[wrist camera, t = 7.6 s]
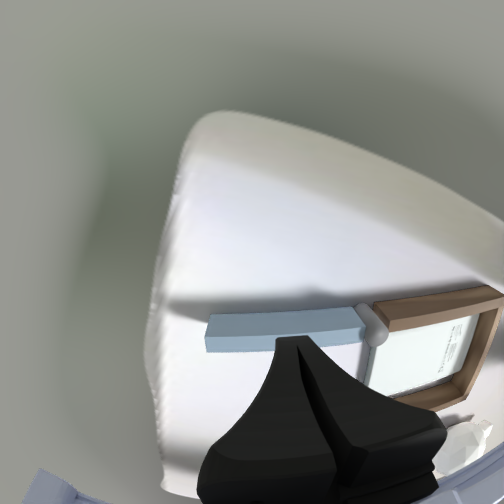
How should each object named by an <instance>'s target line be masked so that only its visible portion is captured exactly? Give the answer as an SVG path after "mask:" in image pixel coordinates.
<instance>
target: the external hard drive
mask: <svg viewBox="0 0 504 504" xmlns="http://www.w3.org/2000/svg"><path fill="white" fill-rule="evenodd" d="M479 314H480V313H478V314H474V315H471V316H467V317H463V318H459V319H455V320H450V321H446V322H442V323H437V324H433V325H428V326H423V327H418V328H413V329H407V330H402V331H396V332H390V333H389V336H388V338H387V340H386V341H385V342H384V343H383V344H382V345H380V346H378V347H371V350H370V355H369V361H368V366H367V371H366V375H365V380H364V385H366V386H367V387H369V388H371V389H373V390H375V391H377V392H379V393H381V394H383V395H385V396H389V395H392V394H396V393H399V392H403V391H406V390H409V389H412V388H415V387H418V386H421V385H424V384H427V383H430V382H433V381H436V380H438V379H441V378H443V377H446V376H448V375H451V374H454V373H456V372H458V371H460V370H461V368H462V366H463V363H464V361H465V358H466V355H467V352H468V349H469V347H470V344H471V341H472V338H473V335H474V332H475V328H476V325H477V322H478V318H479Z"/></svg>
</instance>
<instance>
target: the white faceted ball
mask: <svg viewBox="0 0 504 504" xmlns="http://www.w3.org/2000/svg"><path fill="white" fill-rule="evenodd" d="M492 425H493V424H492V423H490V422H488V421H486V420H483V421H482V422H481V423H479V424H478V425H477V424H475V423H472V422H462V423H460V424H457V425H454V426H451V427H449V428H448V429H447V432H448V434H447V438H446V441H445V442H444V444H443V446H442V447H441V449H440V450H439V451H438V453H437V454H436V455H435V457H434V458H433V459H432V461H433V463H434V465H435V469H436V471H437V472H438V473H441V474H443V475H446V476H449V475H451V474H453V473H454V472H456V471H458V470H460V469H462V468H463V467H465V466H467V465H469V464H470V463H472V462H474V461H475V460H477V459H479V458H480V457H482V454H483V452H484V450H485V447H486V443H485V438H486V437H487V436H489V434H490V431H491V428H492Z"/></svg>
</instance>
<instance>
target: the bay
mask: <svg viewBox="0 0 504 504" xmlns="http://www.w3.org/2000/svg"><path fill="white" fill-rule="evenodd" d="M503 308H504V294H502V293H501V292H499V291H497V290H496V289H494V288H492V287H491V286H489V285H486V286H481V287H475V288H470V289H464V290H458V291H452V292H446V293H440V294H433V295H427V296H420V297H412V298H405V299H397V300H389V301H380V302H374V306H373V312H374V313H375V314H376V315H377V316H378V318H379V319H380V320H381V321H382V322H383V324H384V325H385V326H386V327H387V329H388V330H389V333H390V332H396V331H402V330H407V329H413V328H418V327H423V326H428V325H433V324H437V323H442V322H446V321H450V320H455V319H459V318H463V317H467V316H471V315H474V314H478V313H480V314H479V318H478V322H477V325H476V328H475V332H474V335H473V338H472V341H471V344H470V347H469V349H468V352H467V355H466V358H465V361H464V363H463V366H462V368H461V370H460V371H458V372H456V373H455V374H454V376H453V378H452V380H451V381H449V382H447V383H444V384H441V385H438V386H435V387H432V388H429V389H426V390H423V391H420V392H416V393H413V394H409V395H406V396H402V397H399V398H395V399H394V400H396V401H399V402H402V403H405V404H408V405H411V406H414V407H418V408H422V409H427V410H431V411H434V412H437V411H440V410H442V409H445V408H447V407H450V406H452V405H455V404H457V403H459V402H461V401H464V400H466V398H467V396H468V395H469V393H470V391H471V389H472V387H473V385H474V383H475V381H476V379H477V376H478V374H479V372H480V370H481V368H482V365H483V363H484V361H485V359H486V356H487V354H488V351H489V349H490V346H491V344H492V341H493V338H494V335H495V333H496V330H497V327H498V324H499V321H500V318H501V314H502V311H503Z"/></svg>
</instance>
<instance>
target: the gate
mask: <svg viewBox="0 0 504 504" xmlns="http://www.w3.org/2000/svg"><path fill="white" fill-rule="evenodd" d="M301 335H308V336H309V337H310V338H311V339H312V340H313V341H314V342H315V343H316V344H317V345H318V347H328V346H337V345H345V344H353V343H360V342H363V341H364V338H365V340H366V341H367V343H368V344H369V345H370V346H371V347H378V346H380V345H382V344H383V343H384V342H385V341H386V340H387V338H388V336H389V330H388V329H387V327H386V326H385V325H384V324H383V322H382V321H381V320H380V319H379V318H378V316H377V315H376V314H375V313H374V312H373V310H372V309H371V308H370V307H369V306H368V305H367V304H366V303H360V304H357V305H356V306H355V307H354V308H352V306H351V307H340V308H329V309H316V310H302V311H286V312H266V313H240V314H211V315H210V318H209V322H208V326H207V329H206V333H205V344H206V351H207V352H260V351H275V339H276V338H278V337H288V336H301Z"/></svg>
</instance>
